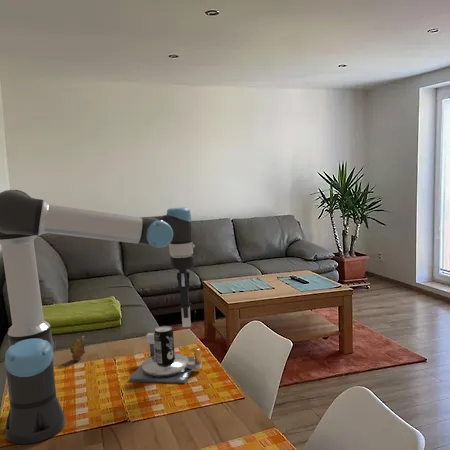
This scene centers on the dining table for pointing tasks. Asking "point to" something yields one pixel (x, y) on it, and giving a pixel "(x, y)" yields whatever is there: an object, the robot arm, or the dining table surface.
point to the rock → (77, 349)
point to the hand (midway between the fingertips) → (186, 326)
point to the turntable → (172, 365)
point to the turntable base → (176, 378)
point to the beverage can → (164, 345)
